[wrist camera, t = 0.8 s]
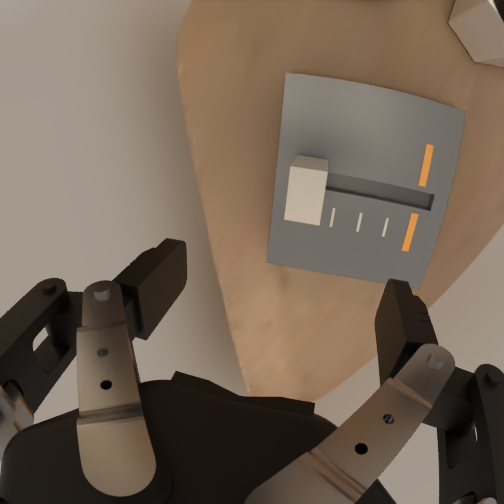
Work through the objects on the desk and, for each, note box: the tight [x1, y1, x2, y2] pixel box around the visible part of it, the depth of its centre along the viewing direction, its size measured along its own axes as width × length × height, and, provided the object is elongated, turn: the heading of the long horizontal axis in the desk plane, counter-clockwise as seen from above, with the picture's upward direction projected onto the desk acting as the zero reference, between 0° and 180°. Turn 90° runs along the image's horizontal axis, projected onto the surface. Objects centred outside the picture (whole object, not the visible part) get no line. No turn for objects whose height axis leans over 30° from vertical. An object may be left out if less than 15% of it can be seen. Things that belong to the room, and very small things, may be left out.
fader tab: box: [284, 155, 328, 225], centre depth 25 cm, size 4×3×6 cm, turn 176°
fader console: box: [267, 73, 466, 290], centre depth 27 cm, size 18×16×3 cm
